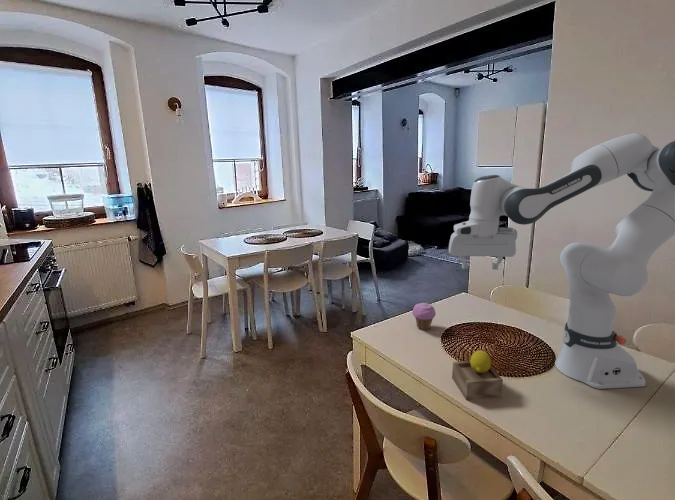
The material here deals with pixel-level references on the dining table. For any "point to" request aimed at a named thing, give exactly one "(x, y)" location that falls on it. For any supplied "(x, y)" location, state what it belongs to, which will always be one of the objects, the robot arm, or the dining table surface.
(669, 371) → the dining table surface
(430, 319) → the cupcake
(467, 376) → the walnut tray
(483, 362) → the lemon
